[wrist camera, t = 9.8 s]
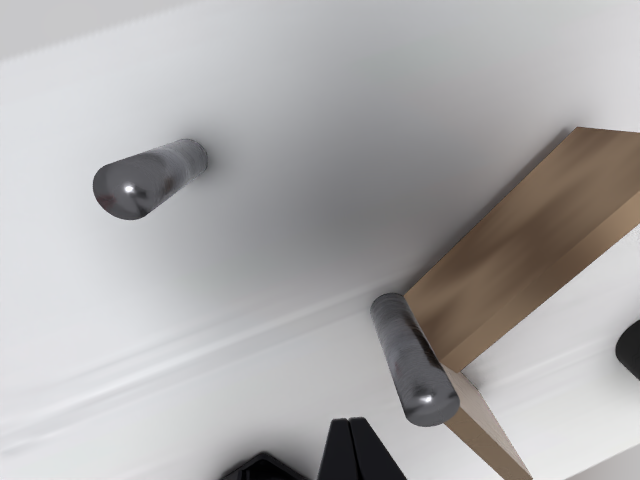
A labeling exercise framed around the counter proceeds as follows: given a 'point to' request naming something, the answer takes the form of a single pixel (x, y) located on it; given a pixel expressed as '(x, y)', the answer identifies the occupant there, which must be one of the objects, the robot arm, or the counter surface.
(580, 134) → the gate leaf
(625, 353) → the drinking cup
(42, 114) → the counter surface
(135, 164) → the gate frame
